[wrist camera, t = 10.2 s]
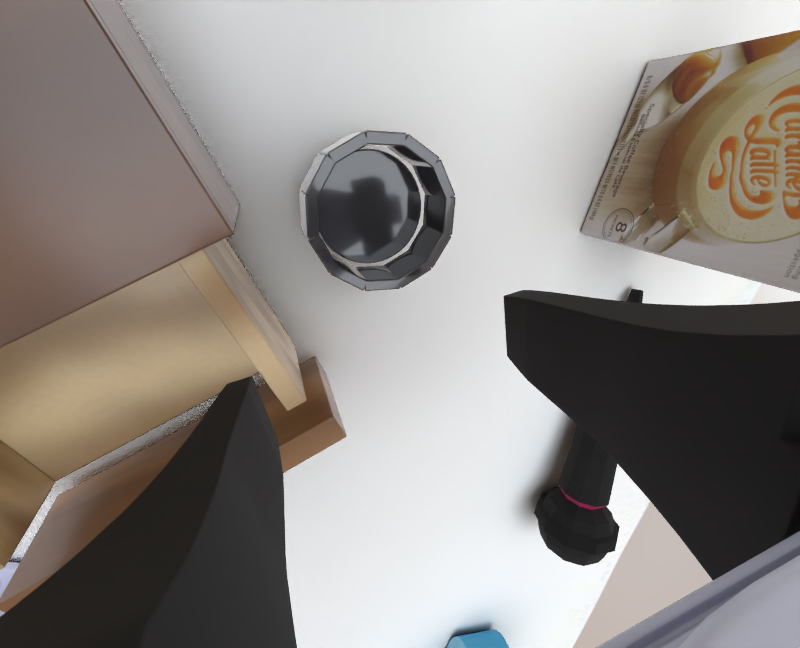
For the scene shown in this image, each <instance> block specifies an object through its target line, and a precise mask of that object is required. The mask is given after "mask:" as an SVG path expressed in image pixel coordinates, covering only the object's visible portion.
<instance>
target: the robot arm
mask: <svg viewBox="0 0 800 648" xmlns="http://www.w3.org/2000/svg"><path fill="white" fill-rule="evenodd" d="M504 309H505V326H506V342H507V356H508V357H509V359H510V360H511V361H512V362H513V364H514V365H515V366H516V367H517V369H518V370H519V371H520V372H521V373H522V374H523V375H524V377H525V378H526V379H527V380H528V381H529V382H530V383H531V384H533V385H534V386H535V387H536V388H537V389H538V390H539V391H540V392H542V393H543V394H544V395H545V396H546V397H547V398H548V399H550V400H551V401H552V402H553V403H554V404H555V405H556V406H558V407H559V408H560V409H561V410H562V411H563V412H565V413H566V414H567V415H568V416H569V417H570V418H572V419H573V420H574V421H575V422H576V423H577V424H578V425H580V426H581V427H582V428H583V429H584V430H585V431H586V432H587V433H588V434H590V435H591V436H592V437H593V438H594V439H595V440H596V441H597V442H598V443H599V444H600V445H601V446H602V447H603V449H604V450H605V451H606V452H607V453H608V454H609V455H610V456H611V457H612V458H613V459H614V460H615V461H616V462H617V463H618V465H619V466H620V467H621V468H622V469H623V470H624V471H625V472H626V473H627V475H628V476H629V477H630V478H631V479H632V480H633V481H634V483H635V484H636V485H637V486H638V487H639V488H640V489H641V490H642V492H643V493H644V494H645V495H646V496H647V497H648V498H649V500H650V501H651V502H652V503H653V504H654V506H655V507H656V508H657V509H658V511H659V512H660V513H661V514H662V515H663V517H664V518H665V519H666V520H667V522H668V523H669V524H670V525H671V527H672V528H673V529H674V530H675V531H676V533H677V534H678V535H679V536H680V538H681V539H682V540H683V542H684V543H685V544H686V545H687V547H688V548H689V549H690V551H691V552H692V553H693V555H694V556H695V557H696V559H697V560H698V561H699V562H700V564H701V565H702V567H703V568H704V569H705V570H706V572H707V573H708V574H709V576H710V577H711V578H712V580H713V581H711V582H710V583H708V584H706V585H704V586H703V587H701V588H699V589H698V590H696V591H694V592H692V593H691V594H689V595H687V596H685V597H684V598H682V599H680V600H678V601H677V602H675V603H673V604H671V605H670V606H668V607H666V608H664V609H663V610H661V611H659V612H658V613H656V614H654V615H652V616H651V617H649V618H647V619H645V620H644V621H642V622H640V623H638V624H636V625H635V626H633V627H631V628H629V629H628V630H626V631H624V632H622V633H621V634H619V635H617V636H615V637H614V638H612V639H610V640H609V641H607V642H605V643H603V644H601V645H600V646H598V647H596V648H800V301H793V302H781V303H768V304H749V305H715V306H687V305H661V304H644V303H633V302H623V301H614V300H605V299H597V298H590V297H582V296H575V295H568V294H561V293H553V292H544V291H533V290H522V291H518V292H515V293H512V294H509V295H506V296H504ZM19 564H20V563H15V562H8V563H7V564H6V566H5V567H4V568H3V569H1V570H0V598H1V596H2V594H3V592H4V590H5V589H6V587H7V585H8V583H9V582H10V580H11V578H12V576H13V574H14V573H15V571H16V569H17V567H18V566H19ZM0 648H297V645H296V639H295V632H294V625H293V618H292V610H291V603H290V595H289V587H288V580H287V570H286V556H285V520H284V486H283V469H282V462H281V456H280V450H279V445H278V439H277V436H276V433H275V431H274V428H273V426H272V424H271V421H270V419H269V416H268V414H267V411H266V409H265V407H264V404H263V402H262V399H261V397H260V394H259V392H258V389H257V387H256V385H255V382H254V380H253V377H252V376H250V377H247V378H244V379H241V380H237V381H234V382H231V383H228V384H226V386H225V387H224V388H223V390H222V391H221V392H220V394H219V395H218V397H217V398H216V400H215V401H214V402H213V404H212V405H211V407H210V408H209V410H208V411H207V413H206V414H205V415H204V417H203V418H202V419H201V421H200V422H199V424H198V425H197V426H196V428H195V429H194V431H193V432H192V433H191V435H190V436H189V437H188V439H187V440H186V441H185V442H184V444H183V445H182V446H181V447H180V449H179V450H178V451H177V452H176V454H175V455H174V456H173V457H172V459H171V460H170V461H169V462H168V464H167V465H166V466H165V467H164V468H163V470H162V471H161V472H160V473H159V474H158V475H157V476H156V478H155V479H154V480H153V481H152V482H151V483H150V484H149V485H148V486H147V487H146V488H145V489H144V491H143V492H142V493H141V494H140V495H139V496H138V497H137V498H136V499H135V500H134V501H133V502H132V503H131V504H130V505H129V506H128V507H127V508H126V509H125V510H124V511H123V512H122V513H121V514H120V515H119V516H118V517H117V518H116V519H115V520H114V521H112V522H111V523H110V524H109V525H108V526H107V527H106V528H105V529H104V530H103V531H102V532H100V533H99V534H98V535H97V536H96V537H95V538H94V539H93V540H92V541H91V542H90V543H89V544H87V545H86V546H85V547H84V548H83V549H82V550H81V551H80V552H79V553H78V554H77V555H75V556H74V557H73V558H72V559H71V560H70V561H68V562H67V563H66V564H65V565H64V566H63V567H61V568H60V569H59V570H58V571H57V572H55V573H54V574H53V575H52V576H51V577H49V578H48V579H47V580H46V581H45V582H43V583H42V584H41V585H40V586H38V587H37V588H36V589H35V590H33V591H32V592H31V593H30V594H28V595H27V596H26V597H25V598H23V599H22V600H21V601H20V602H18V603H17V604H16V605H15V606H13V607H12V608H11V609H10V610H8V611H7V612H6V613H5V612H3V611H1V610H0Z"/></svg>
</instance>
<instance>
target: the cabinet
mask: <svg viewBox="0 0 800 648" xmlns="http://www.w3.org/2000/svg"><path fill="white" fill-rule="evenodd" d="M239 206H240V203H239V202H238V200H237V198H236V197H235V195H234V193H233V192H232V190H231V188H230V187H229V185H228V183H227V182H226V180H225V178H224V177H223V175H222V173H221V172H220V170H219V168H218V167H217V165H216V163H215V162H214V160H213V158H212V157H211V155H210V153H209V152H208V150H207V148H206V147H205V145H204V143H203V142H202V140H201V138H200V137H199V135H198V133H197V132H196V130H195V129H194V127H193V125H192V124H191V122H190V120H189V119H188V117H187V115H186V114H185V112H184V110H183V109H182V107H181V105H180V104H179V102H178V100H177V99H176V97H175V95H174V94H173V92H172V90H171V89H170V87H169V85H168V84H167V82H166V80H165V79H164V77H163V75H162V74H161V72H160V70H159V69H158V67H157V65H156V64H155V62H154V60H153V59H152V57H151V55H150V54H149V52H148V50H147V49H146V47H145V45H144V44H143V42H142V40H141V39H140V37H139V35H138V34H137V32H136V30H135V29H134V27H133V25H132V24H131V22H130V20H129V19H128V17H127V15H126V14H125V12H124V10H123V9H122V7H121V5H120V4H119V2H118V0H0V348H2V347H4V346H6V345H8V344H10V343H12V342H14V341H16V340H18V339H20V338H22V337H24V336H26V335H28V334H31V333H33V332H35V331H37V330H39V329H41V328H43V327H45V326H47V325H49V324H51V323H53V322H55V321H57V320H59V319H61V318H63V317H65V316H67V315H69V314H71V313H73V312H76V311H78V310H80V309H82V308H84V307H86V306H88V305H90V304H92V303H94V302H96V301H98V300H100V299H102V298H104V297H106V296H108V295H110V294H112V293H114V292H116V291H118V290H120V289H123V288H125V287H127V286H129V285H131V284H133V283H135V282H137V281H139V280H141V279H143V278H145V277H147V276H149V275H151V274H153V273H155V272H157V271H159V270H161V269H163V268H165V267H167V266H170V265H172V264H174V263H176V262H178V261H180V260H182V259H184V258H186V257H188V256H190V255H192V254H194V253H196V252H198V251H200V250H202V249H204V248H206V247H208V246H210V245H212V244H215V243H217V242H219V241H221V240H223V239H225V238H227V237H229V236H231V235H232V234H233V232H234V227H235V223H236V219H237V215H238V210H239Z"/></svg>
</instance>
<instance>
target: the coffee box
mask: <svg viewBox="0 0 800 648" xmlns="http://www.w3.org/2000/svg"><path fill="white" fill-rule="evenodd" d="M582 233H583V234H585V235H588V236H592V237H596V238H600V239H604V240H607V241H611V242H614V243H618V244H622V245H625V246H629V247H633V248H636V249H639V250H643V251H647V252H650V253H654V254H657V255H661V256H665V257H668V258H672V259H676V260H679V261H683V262H687V263H690V264H694V265H698V266H702V267H705V268H709V269H713V270H717V271H720V272H724V273H728V274H732V275H735V276H739V277H743V278H746V279H750V280H754V281H757V282H761V283H765V284H768V285H772V286H776V287H779V288H783V289H787V290H791V291H794V292H798V293H800V30H798V31H793V32H789V33H784V34H780V35H775V36H770V37H765V38H760V39H755V40H751V41H746V42H741V43H736V44H731V45H727V46H722V47H716V48H711V49H707V50H703V51H699V52H694V53H689V54H684V55H679V56H673V57H668V58H663V59H656V60H651V61H650V62H649V63H648V65H647V68H646V70H645V73H644V75H643V78H642V80H641V83H640V85H639V88H638V90H637V93H636V95H635V98H634V100H633V103H632V105H631V107H630V110H629V112H628V115H627V117H626V120H625V122H624V125H623V127H622V130H621V132H620V135H619V137H618V140H617V142H616V145H615V147H614V150H613V152H612V155H611V157H610V160H609V163H608V165H607V168H606V170H605V172H604V175H603V177H602V180H601V182H600V185H599V187H598V190H597V192H596V195H595V197H594V200H593V202H592V205H591V207H590V210H589V212H588V215H587V217H586V220H585V222H584V225H583V228H582Z"/></svg>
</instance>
